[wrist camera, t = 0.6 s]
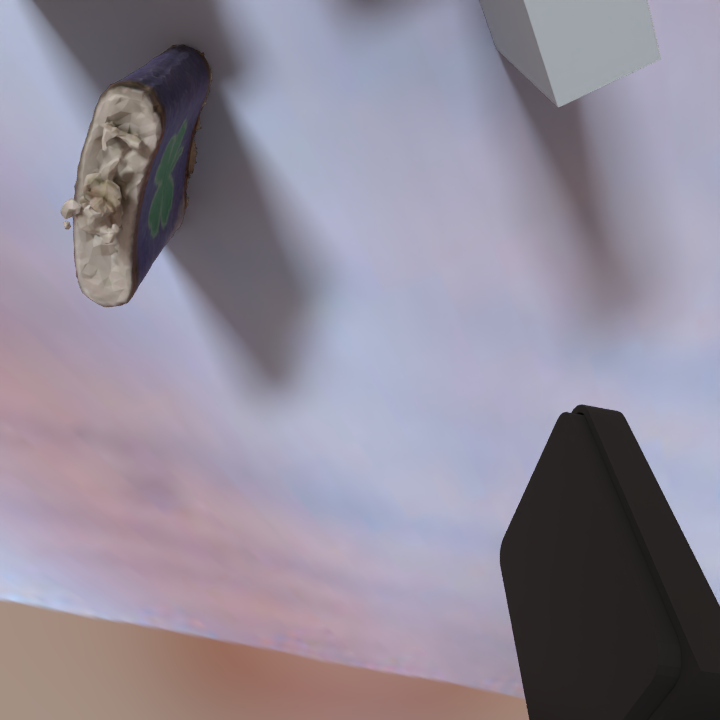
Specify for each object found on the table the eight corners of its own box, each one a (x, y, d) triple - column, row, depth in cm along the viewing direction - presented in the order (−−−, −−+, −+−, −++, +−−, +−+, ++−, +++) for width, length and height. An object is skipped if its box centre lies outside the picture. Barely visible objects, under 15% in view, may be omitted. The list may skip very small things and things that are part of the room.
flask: (182, 235, 35) (114, 340, 26) (126, 218, 34) (37, 318, 25) (220, 54, 30) (152, 103, 21) (156, 30, 30) (59, 71, 21)
